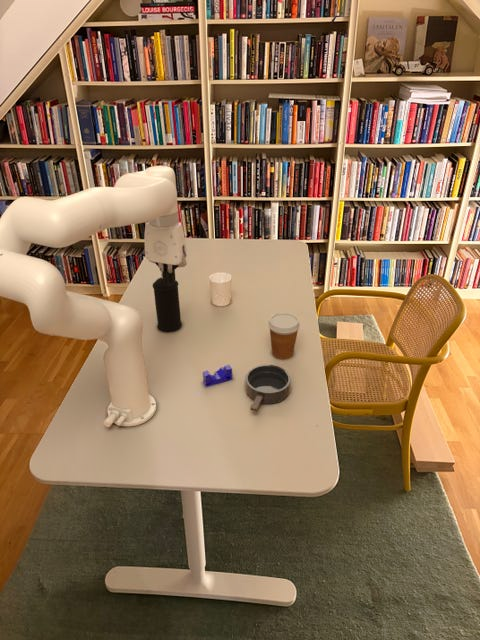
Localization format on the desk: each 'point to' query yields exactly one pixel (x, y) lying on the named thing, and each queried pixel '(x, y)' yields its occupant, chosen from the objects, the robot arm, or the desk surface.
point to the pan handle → (257, 402)
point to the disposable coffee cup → (283, 334)
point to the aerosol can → (167, 306)
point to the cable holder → (217, 376)
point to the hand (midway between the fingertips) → (169, 283)
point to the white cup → (220, 288)
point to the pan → (268, 383)
